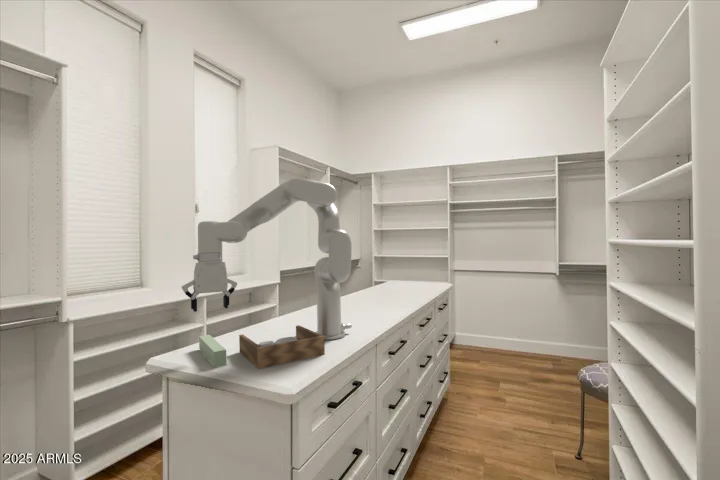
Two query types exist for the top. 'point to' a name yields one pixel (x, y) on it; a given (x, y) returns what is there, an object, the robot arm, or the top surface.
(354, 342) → the top surface
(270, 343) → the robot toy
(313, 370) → the top surface
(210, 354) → the sage green plank
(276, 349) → the wooden tray
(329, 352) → the top surface
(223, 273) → the robot arm
